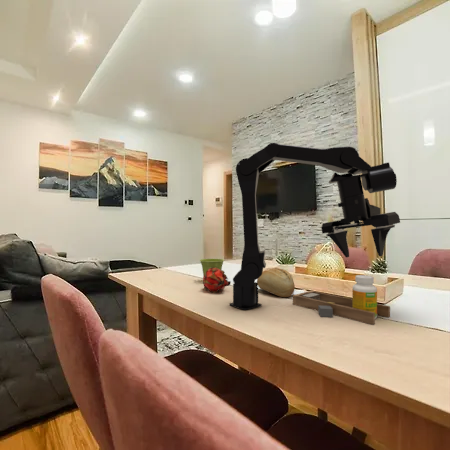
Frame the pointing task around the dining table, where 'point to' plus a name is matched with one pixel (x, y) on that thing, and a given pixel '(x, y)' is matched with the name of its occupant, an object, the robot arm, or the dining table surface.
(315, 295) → the steel counterweight
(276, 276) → the bread roll
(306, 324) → the dining table surface
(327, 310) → the gray block
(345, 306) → the walnut beam
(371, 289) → the supplement bottle
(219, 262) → the plant pot
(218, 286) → the dragon fruit
